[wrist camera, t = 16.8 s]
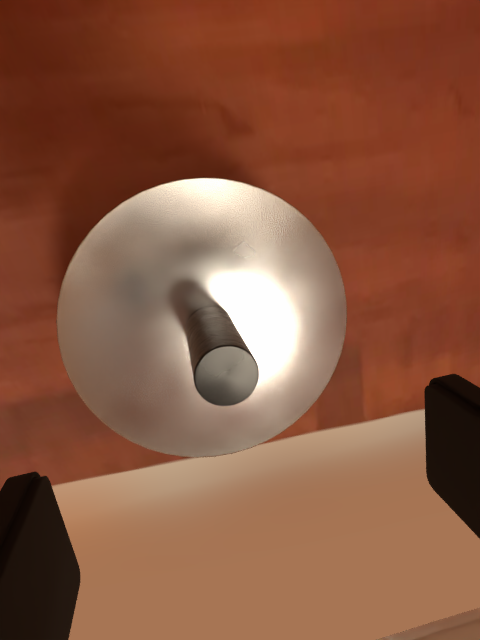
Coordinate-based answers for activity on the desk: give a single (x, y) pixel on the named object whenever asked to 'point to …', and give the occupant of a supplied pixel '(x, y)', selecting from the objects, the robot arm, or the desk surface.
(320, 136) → the desk surface
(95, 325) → the lid
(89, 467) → the desk surface
